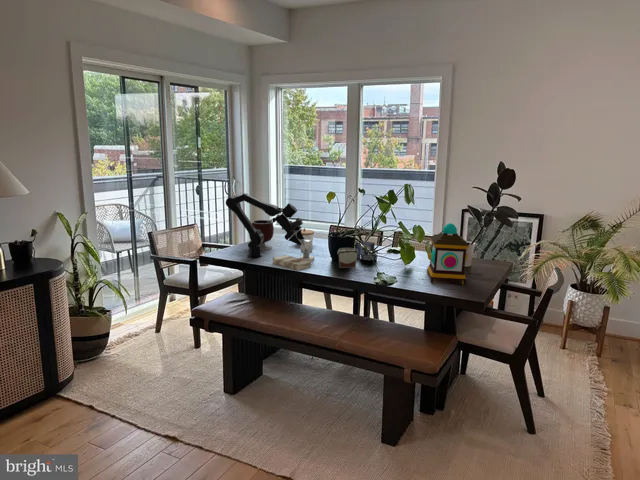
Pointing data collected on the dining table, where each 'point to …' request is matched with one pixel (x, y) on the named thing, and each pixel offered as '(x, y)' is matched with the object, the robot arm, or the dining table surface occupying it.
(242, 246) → the dining table surface
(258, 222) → the mate gourd
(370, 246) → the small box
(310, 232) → the lidded bowl
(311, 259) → the block
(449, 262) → the decorative lantern
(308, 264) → the plate
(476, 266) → the dining table surface
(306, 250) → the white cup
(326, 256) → the dining table surface
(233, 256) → the dining table surface
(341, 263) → the food container
